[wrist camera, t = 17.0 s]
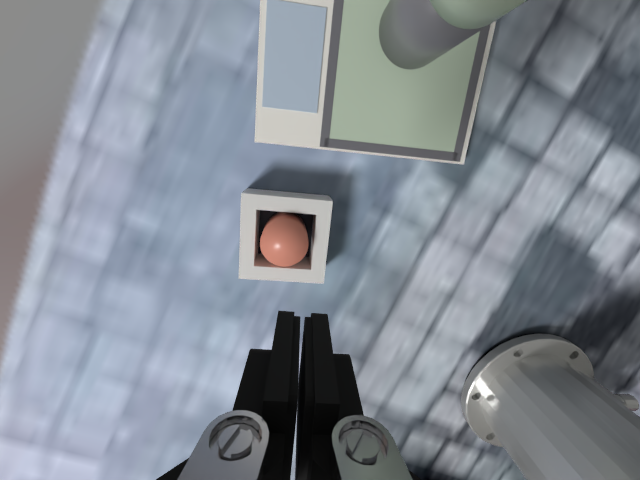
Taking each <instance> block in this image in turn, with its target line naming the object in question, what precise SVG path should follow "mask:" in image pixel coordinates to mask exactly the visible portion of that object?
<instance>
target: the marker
mask: <svg viewBox="0 0 640 480" xmlns="http://www.w3.org/2000/svg"><path fill="white" fill-rule="evenodd" d="M526 1H527V0H390V1H389V3H388V5H387V6H386V8H385V10H384V12H383V14H382V16H381V20H380V25H379V39H380V44H381V47H382V50H383V52H384V54H385V55H386V57H387V58H388V59H389V60H390V61H391V62H392V63H393V64H394V65H396V66H398V67H400V68H403V69H410V70H412V69H418V68H421V67H424V66H426V65H427V64H429V63H430V62H432V61H434V60H435V59H437V58H438V57H440V56H441V55H443V54H445V53H446V52H448V51H449V50H451V49H452V48H454V47H455V46H457V45H459V44H460V43H462V42H463V41H465V40H466V39H468V38H470V37H471V36H473V35H474V34H476V33H477V32H479V31H480V30H482V29H484V28H485V27H487V26H488V25H490V24H491V23H493V22H494V21H496V20H498V19H499V18H501V17H502V16H504V15H505V14H507V13H509V12H510V11H512V10H513V9H515V8H516V7H518V6H519V5H521V4H523V3H524V2H526Z"/></svg>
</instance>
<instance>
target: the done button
mask: <svg viewBox="0 0 640 480" xmlns="http://www.w3.org/2000/svg"><path fill="white" fill-rule="evenodd" d="M308 246H309V242H308V235H307V229H306V225H305V223H304V221H303V220H302V218H301V217H299V216H298V215H297V214H295V213H291V212H278V213H276V214H274V215H272V216H271V217H270V218H269V219H268V221H267V222H266V224H265V227H264V230H263V232H262V235H261V238H260V248H261V251H262V254H263V255H264V257H265V258H266V259H267V260H268V261H269V262H271V263H272V264H274V265H277V266H283V267H286V266H292V265H294V264H296V263H298V262H300V261H301V260H302V259H303V258H304V256H305V255H306V253H307V250H308Z"/></svg>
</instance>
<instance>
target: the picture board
mask: <svg viewBox="0 0 640 480" xmlns="http://www.w3.org/2000/svg"><path fill="white" fill-rule="evenodd" d="M389 1H390V0H260V23H259V48H258V73H257V97H256V122H255V142H259V143H268V144H277V145H287V146H296V147H305V148H315V149H324V150H333V151H343V152H352V153H361V154H371V155H380V156H389V157H399V158H408V159H417V160H427V161H436V162H445V163H455V164H464V161H465V157H466V152H467V148H468V144H469V139H470V135H471V130H472V126H473V122H474V117H475V113H476V108H477V104H478V100H479V95H480V91H481V86H482V82H483V78H484V73H485V69H486V64H487V60H488V56H489V51H490V47H491V42H492V38H493V34H494V29H495V25H496V21H494V22H493V23H491V24H490V25H488V26H487V27H485V28H484V29H482V30H480V31H479V32H477V33H476V34H474V35H473V36H471V37H470V38H468V39H466V40H465V41H463V42H462V43H460V44H459V45H457V46H455V47H454V48H452V49H451V50H449V51H448V52H446V53H445V54H443V55H441V56H440V57H438V58H437V59H435V60H434V61H432V62H430V63H429V64H427V65H426V66H424V67H421V68H418V69H412V70H410V69H403V68H400V67H398V66H396V65H394V64H393V63H392V62H391V61H390V60H389V59H388V58H387V57H386V55H385V54H384V52H383V50H382V47H381V44H380V39H379V25H380V20H381V16H382V14H383V12H384V10H385V8H386V6H387V5H388V3H389Z"/></svg>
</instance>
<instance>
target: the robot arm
mask: <svg viewBox="0 0 640 480" xmlns="http://www.w3.org/2000/svg"><path fill="white" fill-rule="evenodd" d="M299 340H300V317H299V316H294V312H288V311H278V317H277V323H276V328H275V334H274V340H273V346H272V350H262V349H250V352H249V355H248V358H247V362H246V365H245V369H244V372H243V376H242V379H241V383H240V386H239V390H238V393H237V397H236V400H235V404H234V407H233V411H230V412H227V413H225V414H222V415H220V416H218V417H217V418H216V419H214V420H213V421H212V422H211V423H210V424H209V425H208V426H207V428H206V429H205V430H204V432H203V434H202V436H201V438H200V439H199V441H198V443H197V445H196V447H195V448H194V450H193V452H192V454H191V456H190V458H188V459H187V460H185V461H184V462H182V463H180V464H179V465H177V466H176V467H174V468H173V469H171V470H170V471H168V472H167V473H165V474H164V475H162V476H161V477H159V478H158V479H156V480H290V475H291V465H292V455H293V444H294V434H295V424H296V414H297V437H296V470H295V480H421V479H420V478H418V477H417V476H416V475H415V474H413V473H412V472H411V471H409V470H408V469H407V467H406V465H405V462H404V460H403V458H402V456H401V454H400V452H399V450H398V448H397V446H396V443H395V441H394V439H393V437H392V436H391V434H390V433H389V431H388V430H387V429H386V428H385V427H384V426H383V425H382V424H381V423H379V422H378V421H376V420H374V419H372V418H369V417H366V416H364V415H363V410H362V406H361V401H360V397H359V393H358V388H357V384H356V379H355V375H354V371H353V366H352V362H351V358H350V355H349V354H333V350H332V343H331V336H330V329H329V322H328V315H327V314H318V313H311V317H305V322H304V332H303V342H302V353H301V363H300V373H299ZM298 374H299V383H298ZM297 401H298V404H297ZM461 406H462V412H463V415H464V417H465V420H466V421H467V423H468V424H469V426H470V427H471V429H472V431H473V432H474V433H475V434H476V435H477V436H478V437H479V438H481V439H482V440H484V441H485V442H487V443H490V444H493V445H495V446H501V447H504V448H505V449H506V451H507V452H508V454H509V455H510V456H511V458H512V459H513V461H514V462H515V464H516V465H517V466H518V468H519V469H520V471H521V472H522V473H523V475H524V476H525V478H526V479H527V480H640V417H639V416H638V415H636V414H635V413H634V412H632V411H636V410H637V409H639V404H638V401H637V400H636V399H635V398H634V396H632V395H630V394H613V393H612V392H610V391H609V390H608V389H606V388H605V387H604V386H602V385H601V384H600V383H598V382H597V381H596V380H595V379H594V372H593V367H592V364H591V362H590V360H589V358H588V356H587V355H586V354H585V353H584V352H583V351H582V350H581V349H580V348H578V347H577V346H576V345H574V344H573V343H571V342H570V341H568V340H566V339H564V338H562V337H559V336H555V335H551V334H531V335H524V336H521V337H517V338H514V339H511V340H509V341H507V342H505V343H503V344H501V345H499V346H497V347H496V348H494V349H493V350H491V351H490V352H489V353H487V354H486V355H485V356H484V357H483V358H482V359H481V360H480V361H479V362H478V363H477V364H476V366H475V367H474V368H473V369H472V371H471V372H470V374H469V376H468V378H467V379H466V381H465V384H464V387H463V390H462V397H461Z"/></svg>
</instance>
